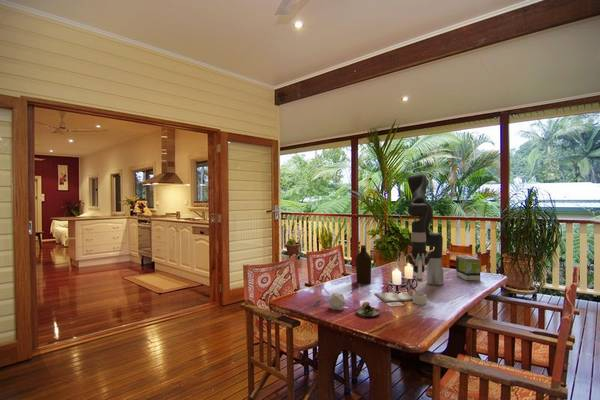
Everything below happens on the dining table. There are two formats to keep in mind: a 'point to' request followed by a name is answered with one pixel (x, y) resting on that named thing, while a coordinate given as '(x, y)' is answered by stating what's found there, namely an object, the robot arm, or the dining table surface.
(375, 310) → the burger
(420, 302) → the pen cup
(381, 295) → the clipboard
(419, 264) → the marker
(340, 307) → the white faceted polyhedron
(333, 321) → the dining table surface
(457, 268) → the tea box
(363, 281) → the olive oil
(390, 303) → the word card
